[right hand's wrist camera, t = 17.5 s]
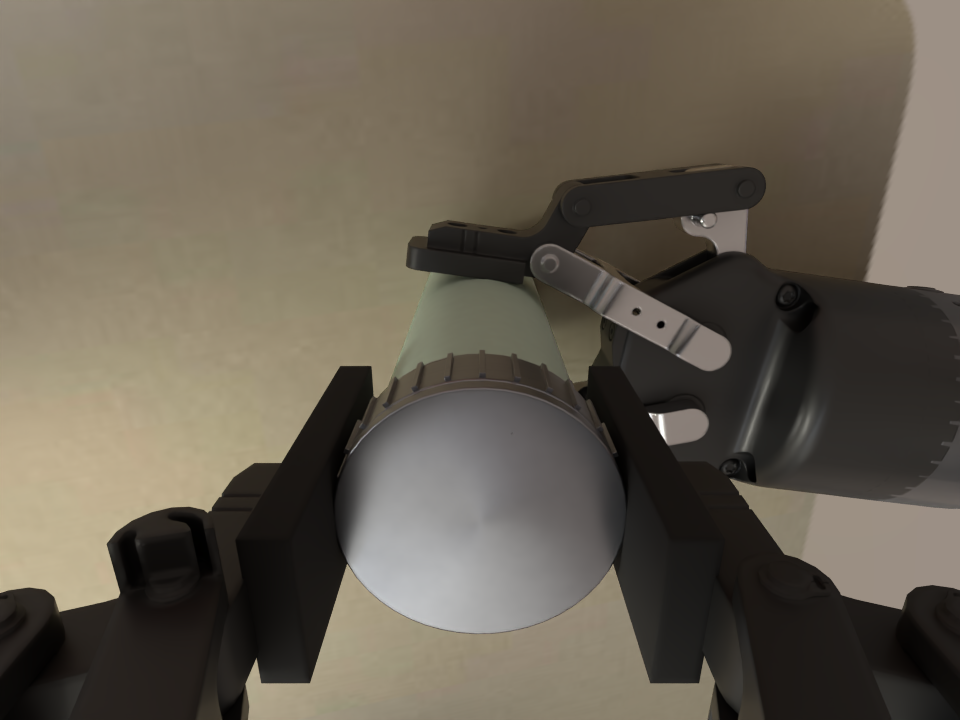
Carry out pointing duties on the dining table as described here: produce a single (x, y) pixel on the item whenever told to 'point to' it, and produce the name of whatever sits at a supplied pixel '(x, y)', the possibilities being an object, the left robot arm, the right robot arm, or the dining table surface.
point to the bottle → (479, 323)
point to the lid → (480, 495)
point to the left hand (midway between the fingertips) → (403, 331)
